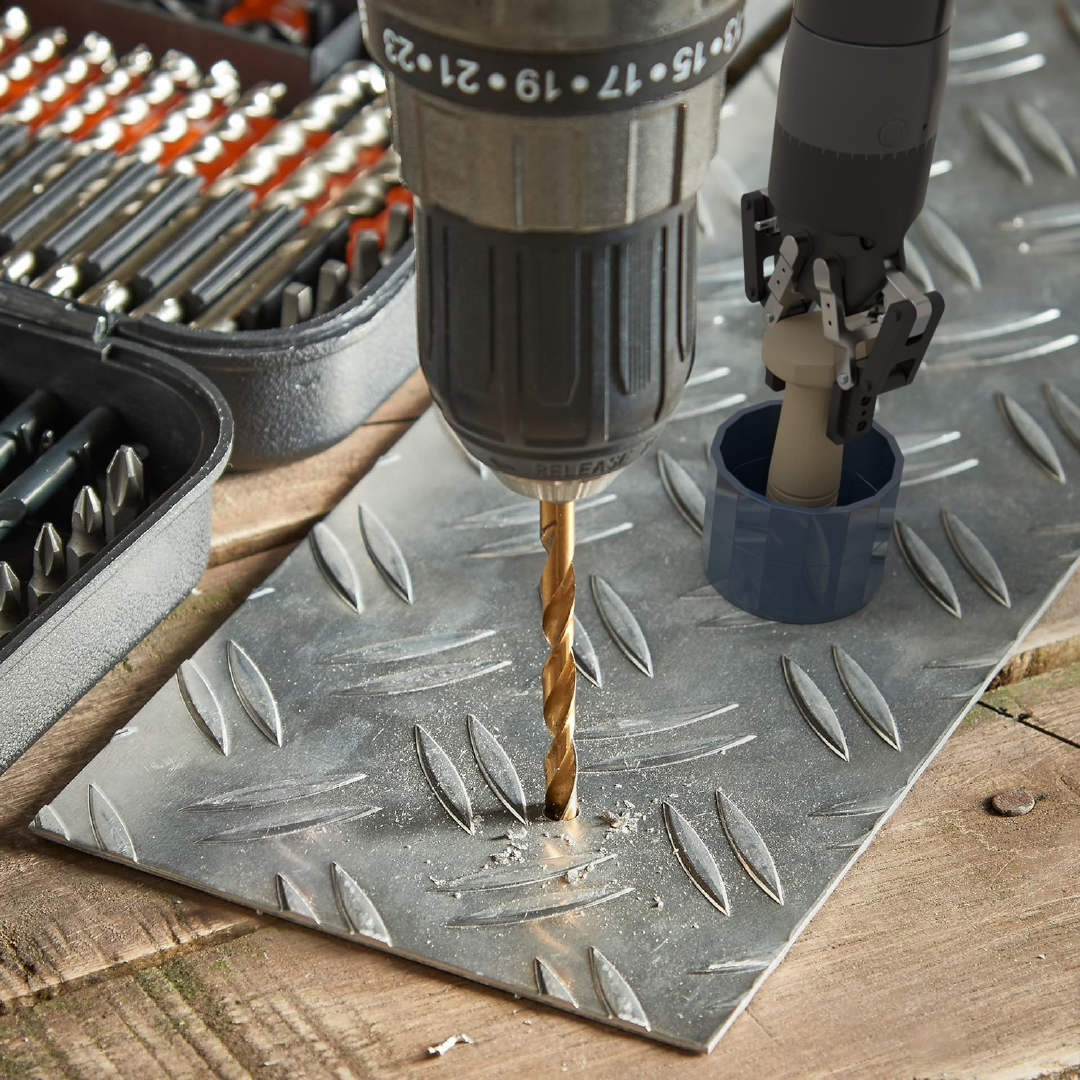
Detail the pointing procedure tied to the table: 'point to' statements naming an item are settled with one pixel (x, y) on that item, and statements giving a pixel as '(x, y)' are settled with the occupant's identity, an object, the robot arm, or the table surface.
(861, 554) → the pot
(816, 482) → the handle
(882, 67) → the robot arm
